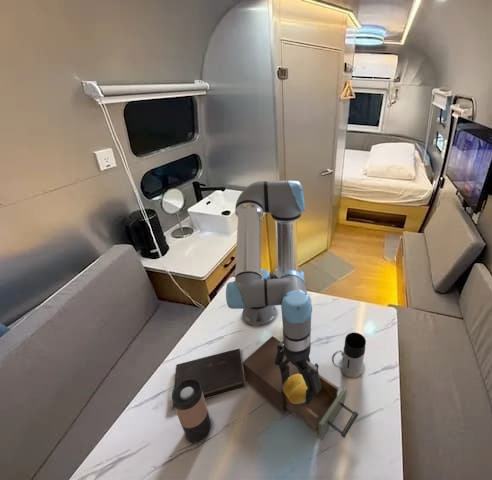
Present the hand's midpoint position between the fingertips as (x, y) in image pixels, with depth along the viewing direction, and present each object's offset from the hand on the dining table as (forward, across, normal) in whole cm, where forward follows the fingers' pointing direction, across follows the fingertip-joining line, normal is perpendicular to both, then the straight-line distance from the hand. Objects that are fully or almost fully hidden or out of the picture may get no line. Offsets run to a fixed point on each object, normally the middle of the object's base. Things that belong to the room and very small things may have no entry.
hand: (297, 390), depth 86 cm
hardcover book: (+12, +33, +11) cm, 37 cm away
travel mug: (+12, +21, +23) cm, 33 cm away
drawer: (+11, -6, -4) cm, 13 cm away
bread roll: (+1, 0, 0) cm, 1 cm away
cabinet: (+12, +13, -4) cm, 18 cm away
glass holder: (+12, -5, -23) cm, 26 cm away
